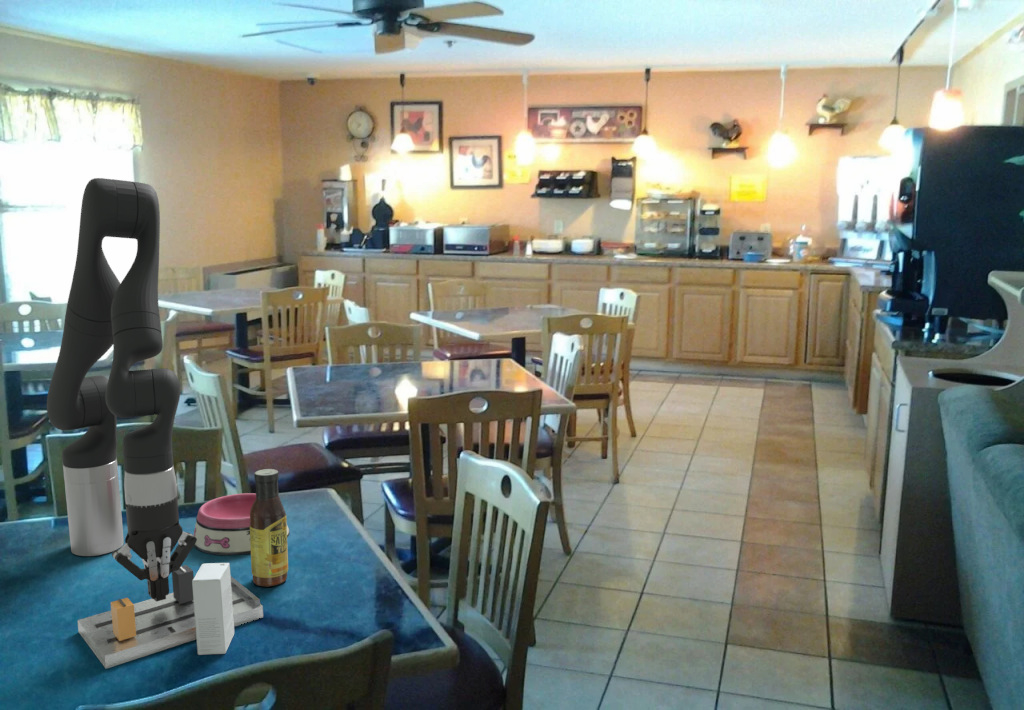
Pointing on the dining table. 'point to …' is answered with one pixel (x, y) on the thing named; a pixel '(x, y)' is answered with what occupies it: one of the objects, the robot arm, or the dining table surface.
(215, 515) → the dog bowl
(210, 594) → the skincare box
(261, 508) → the sauce bottle
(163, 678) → the dining table surface
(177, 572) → the block
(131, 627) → the fader orange
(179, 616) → the console
